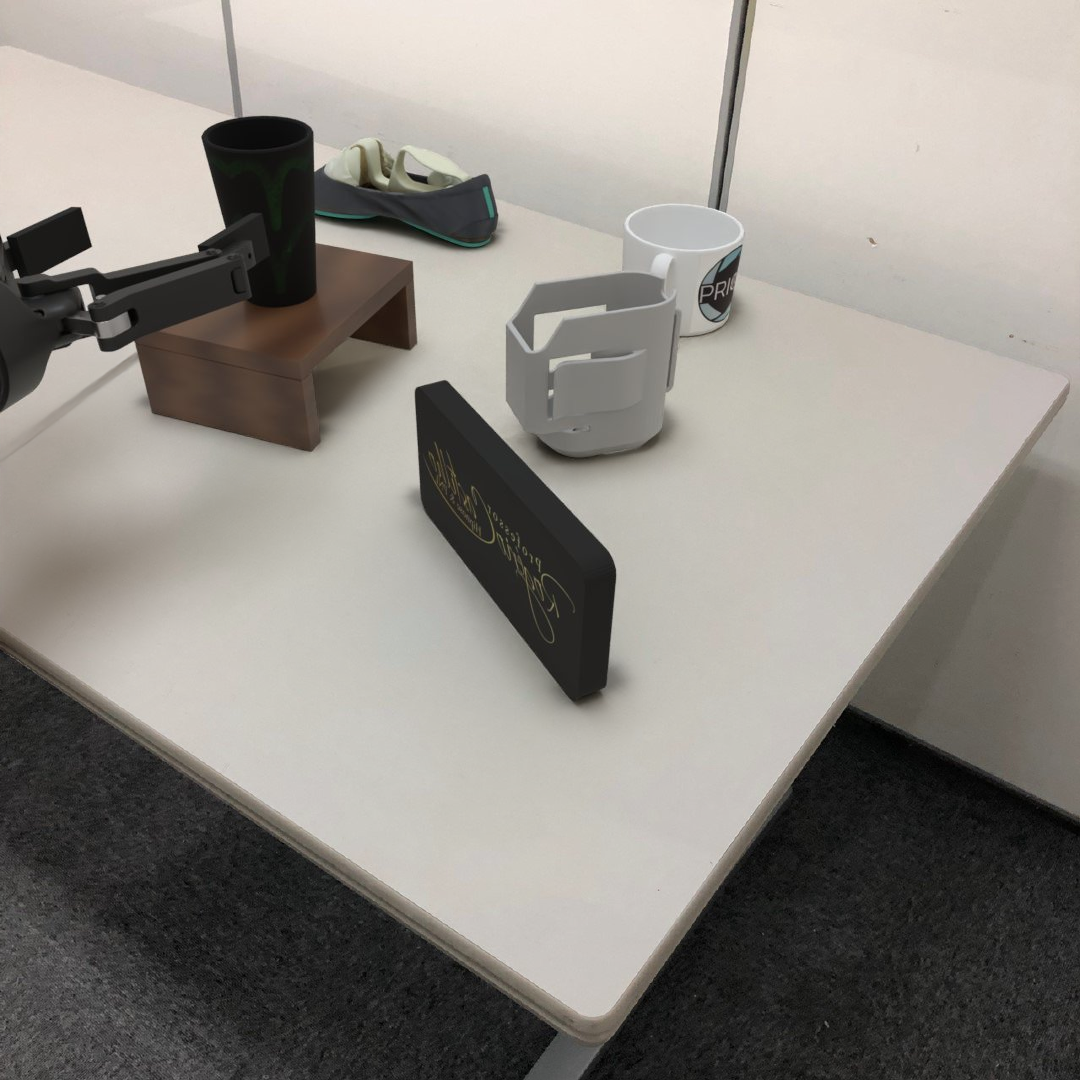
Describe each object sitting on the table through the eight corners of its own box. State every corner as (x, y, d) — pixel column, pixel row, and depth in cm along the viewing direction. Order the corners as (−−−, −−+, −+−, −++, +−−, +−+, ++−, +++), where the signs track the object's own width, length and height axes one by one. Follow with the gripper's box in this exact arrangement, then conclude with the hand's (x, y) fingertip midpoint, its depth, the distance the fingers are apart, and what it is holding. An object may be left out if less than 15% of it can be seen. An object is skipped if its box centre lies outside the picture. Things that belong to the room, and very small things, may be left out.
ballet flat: (324, 186, 119) (316, 111, 114) (515, 229, 111) (515, 150, 105) (278, 211, 113) (267, 133, 108) (476, 259, 105) (474, 177, 100)
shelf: (151, 412, 82) (130, 324, 77) (276, 313, 95) (264, 232, 90) (311, 451, 78) (298, 362, 73) (417, 342, 91) (412, 260, 87)
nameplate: (605, 695, 60) (618, 560, 54) (577, 707, 59) (586, 572, 53) (446, 499, 74) (440, 373, 68) (421, 507, 73) (413, 380, 67)
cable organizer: (502, 432, 81) (502, 286, 73) (651, 406, 84) (665, 263, 76) (530, 481, 76) (533, 330, 68) (687, 451, 79) (707, 304, 72)
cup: (266, 262, 86) (243, 109, 78) (348, 280, 83) (333, 124, 76) (208, 302, 80) (177, 140, 72) (294, 322, 78) (272, 158, 70)
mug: (636, 278, 102) (643, 196, 97) (743, 298, 99) (756, 214, 94) (591, 340, 92) (596, 252, 87) (709, 364, 90) (721, 274, 84)
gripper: (-224, 408, 58) (29, 276, 75) (169, 447, 52) (349, 294, 69) (-290, 275, 54) (-6, 168, 71) (129, 301, 48) (331, 176, 65)
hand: (169, 230), depth 70 cm, fingers open, 13 cm apart
